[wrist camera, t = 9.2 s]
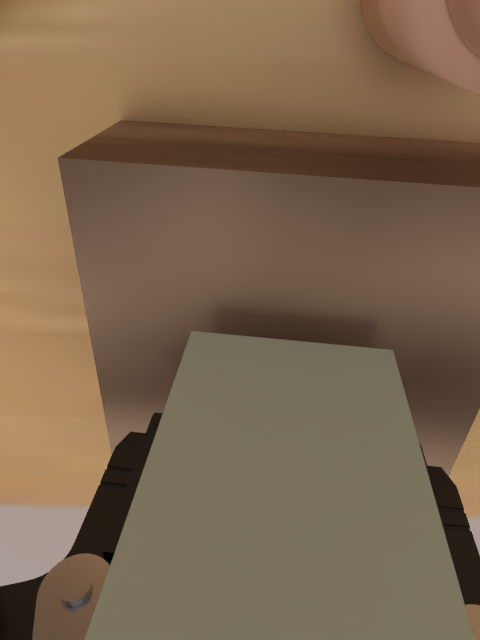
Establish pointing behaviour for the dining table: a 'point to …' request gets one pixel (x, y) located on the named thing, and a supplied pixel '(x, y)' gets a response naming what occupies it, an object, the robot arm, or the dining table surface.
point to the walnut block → (279, 258)
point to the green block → (283, 505)
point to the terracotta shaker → (430, 36)
